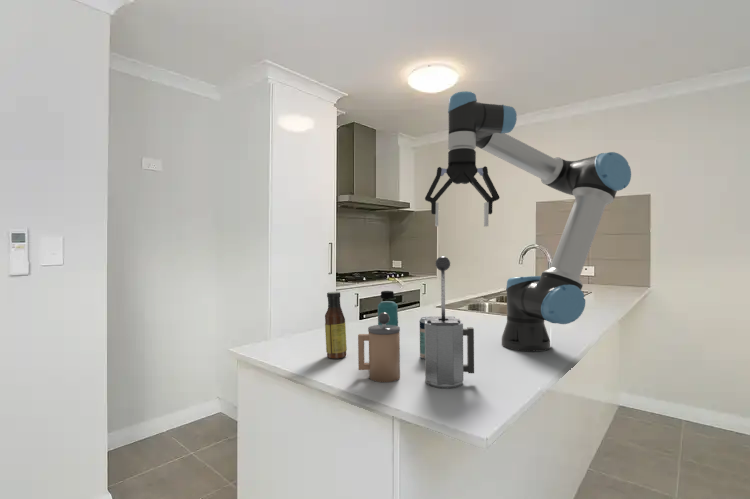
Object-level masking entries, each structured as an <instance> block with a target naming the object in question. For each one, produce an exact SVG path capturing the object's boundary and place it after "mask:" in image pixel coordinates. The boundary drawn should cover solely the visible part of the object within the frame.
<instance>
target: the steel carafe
mask: <svg viewBox="0 0 750 499" xmlns="http://www.w3.org/2000/svg"><path fill="white" fill-rule="evenodd" d="M429 317H430V319H427V320H425V359H424V372H425V374H424V376H425V378H424V379H425V380H424V381H425V383H426V385H427V386H430V387H433V388H436V389H446V390H447V389H456V388H459V387H461V386H463V383H464V373H468V374H475V335H474V334H475V329H474V327H471V326H470V327H466V328H464V323H463V322H462V320H461V319H460V318H456V316H445V320H442V316H429ZM464 336H466V342H467V343H466V345H467V346H466V350H467V351H466V353H467V355H466V356H467V357H466V358H467V359H466V360H467V364H464Z"/></svg>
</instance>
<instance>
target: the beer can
mask: <svg viewBox="0 0 750 499" xmlns="http://www.w3.org/2000/svg"><path fill="white" fill-rule="evenodd" d="M430 317H431V316H423V317H420V320H419V358H421V359H422V360H425V320H427V319H430Z"/></svg>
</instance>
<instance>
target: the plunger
mask: <svg viewBox="0 0 750 499" xmlns="http://www.w3.org/2000/svg"><path fill="white" fill-rule="evenodd" d="M435 267H436V269H438V270H439V271H440V280H441V281H440V283H441V284H440V286H441V288H440V289H441V291H440V292H441V294H440V295H441V296H440V297H441V298H440V300H441V303H440V304H441V308H440V309H441V312H440V313H441V315H440V316H441V317H442V320H445V317H446V271H448V270H449V268H450V267H451V261H450V259H449V258H448V257H447V256H443V255H442V256H439V257H438V258H436V261H435Z"/></svg>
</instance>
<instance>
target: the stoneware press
mask: <svg viewBox="0 0 750 499" xmlns="http://www.w3.org/2000/svg"><path fill="white" fill-rule="evenodd" d="M378 320H379V322H380V323H381V324H382V325H378V324H374V325H370V326H368V329H367V332H368V333H358V334H357V341H358V344H357V346H358V347H357V348H358V350H357V354H358V357H357V358H358V359H357V360H358V363H357V364H358V371H368V378H369V380H371V381H374V382H377V383H391V382H396V381H398V380H400V378H401V355H400V354H401V352H400V351H401V347H400V346H401V345H400V341H401V340H400V338H401V337H400V335H401V333H400V332H401V327H400V326H399V325H398V326H395V325H386V324H387V323H388V322H389V320H390V317H389V315H388V314H387V313H385V312H383V313H381V314H380V315H379V316H378V315H377V321H378ZM365 341H368V362H365Z"/></svg>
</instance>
